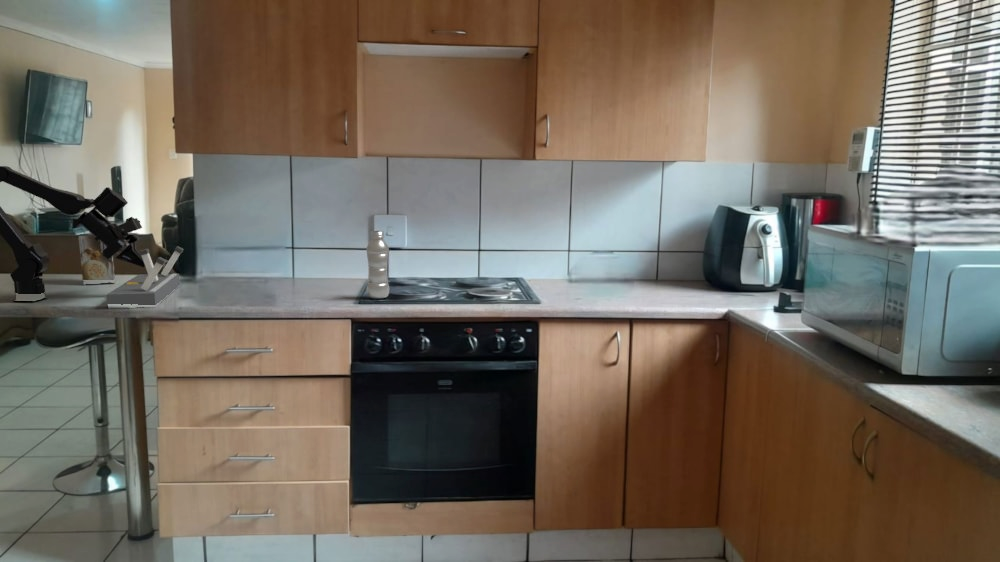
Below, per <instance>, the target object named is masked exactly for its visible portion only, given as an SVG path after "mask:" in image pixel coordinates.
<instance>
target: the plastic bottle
mask: <svg viewBox="0 0 1000 562" xmlns="http://www.w3.org/2000/svg"><path fill="white" fill-rule="evenodd" d="M370 238H371V239H370V241H369V243H368V244H367V246H366V249H365V250H366V257H367V267H368V276H367V277H368V278H367V283H366V295H367V297H368V298H371V299H375V300H380V299H384V298H387V297H389V295H390V285H389V281H388V261H389V256H390V255H389V252H390V247H389V245H388V243H387V242H386V241H385V239H384V238H385V235H384V230H371V231H370Z"/></svg>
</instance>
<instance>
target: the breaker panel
mask: <svg viewBox="0 0 1000 562" xmlns="http://www.w3.org/2000/svg"><path fill="white" fill-rule="evenodd" d="M147 277H148V274H137V275H135V276H134V277H132V278H131V279H129V280H128V281H126V282H124V283H122V284H121V285H119V286H118V287H116V288H115V289H113V290H111V291H110V292H108V293H107V294H106V295H105V297H106V305H107V304H121V305H123V304H131V305H132V304H138V305H156V304H157V303H159V302H160V301H161V300H163V299H164V298H165V297H166V296H167V295H169V294H170V293H171V292H172V291H173V290H174V289H176V288H177V287H178V286H179V285H180V286H181V282H180V281H181V280H180V273H168V275H167V276H164V275H163V274H161V273H158V274H157V277H158V279H159V280H157V281H155V282H152V284H151V286H150V287H149V289H148V290H147V291H146V290H144V289H142V288H141V287H142V285H143V283H144V282H145V280H146V278H147ZM178 288H179V287H178ZM178 288H177V289H178ZM177 289H176V290H177ZM170 295H171V294H170ZM170 295H169V296H170Z"/></svg>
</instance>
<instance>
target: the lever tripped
mask: <svg viewBox="0 0 1000 562" xmlns="http://www.w3.org/2000/svg"><path fill="white" fill-rule="evenodd" d="M138 252H139V254H140V255H141V257H142V258H143V261H144V264H145V267H144V268H145V269H146V272H147V275H149V273H150V272H151V270H152V268H153V267H154V265H155V264H154V263H153V260H152V257H151V255H150V249H149V248H145V249H141V250H139V251H138ZM157 280H159V279H158V277H157V276H156V277H155V279H154V281H153V282H155V281H157Z"/></svg>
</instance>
